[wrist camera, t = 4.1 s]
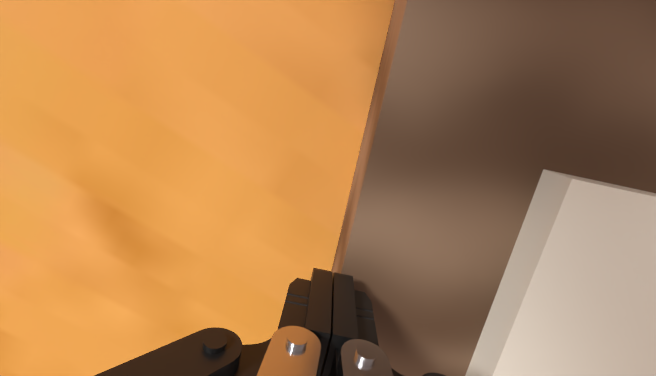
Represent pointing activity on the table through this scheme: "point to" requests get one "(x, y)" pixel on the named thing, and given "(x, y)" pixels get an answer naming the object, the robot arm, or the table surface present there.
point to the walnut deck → (485, 152)
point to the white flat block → (576, 286)
